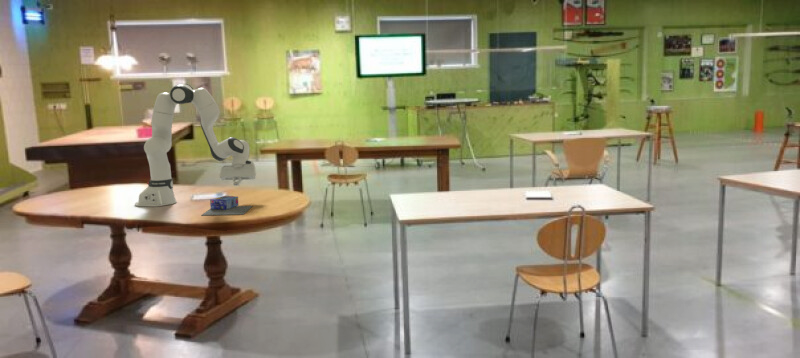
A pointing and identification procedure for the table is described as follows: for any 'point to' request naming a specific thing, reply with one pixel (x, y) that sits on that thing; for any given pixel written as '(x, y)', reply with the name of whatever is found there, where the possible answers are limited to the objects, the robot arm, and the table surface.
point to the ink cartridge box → (224, 202)
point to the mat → (228, 211)
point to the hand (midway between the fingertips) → (236, 185)
